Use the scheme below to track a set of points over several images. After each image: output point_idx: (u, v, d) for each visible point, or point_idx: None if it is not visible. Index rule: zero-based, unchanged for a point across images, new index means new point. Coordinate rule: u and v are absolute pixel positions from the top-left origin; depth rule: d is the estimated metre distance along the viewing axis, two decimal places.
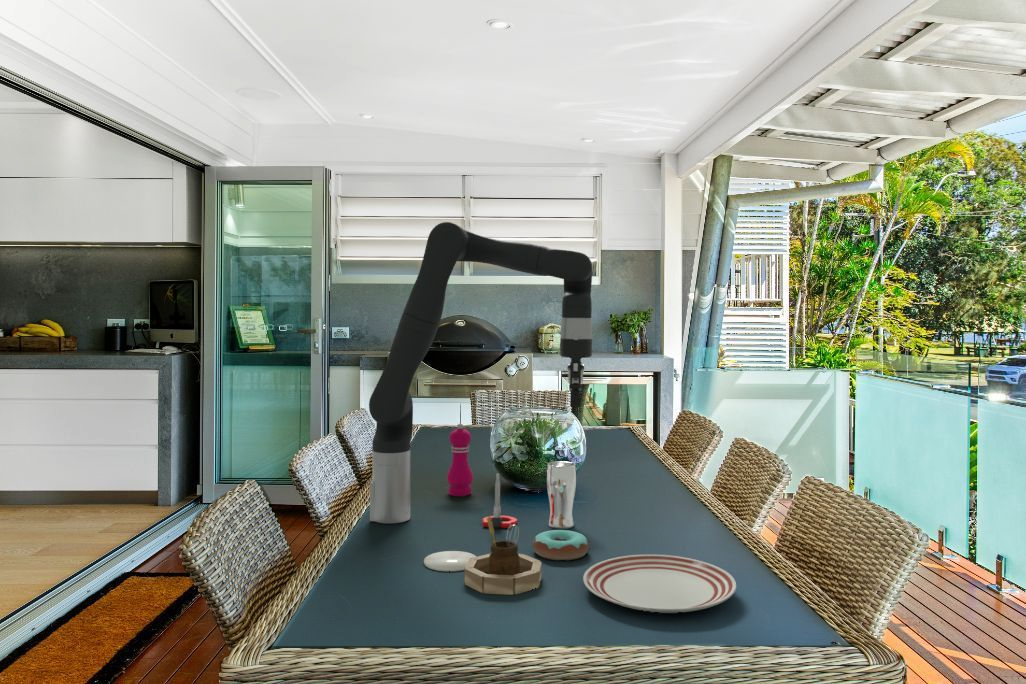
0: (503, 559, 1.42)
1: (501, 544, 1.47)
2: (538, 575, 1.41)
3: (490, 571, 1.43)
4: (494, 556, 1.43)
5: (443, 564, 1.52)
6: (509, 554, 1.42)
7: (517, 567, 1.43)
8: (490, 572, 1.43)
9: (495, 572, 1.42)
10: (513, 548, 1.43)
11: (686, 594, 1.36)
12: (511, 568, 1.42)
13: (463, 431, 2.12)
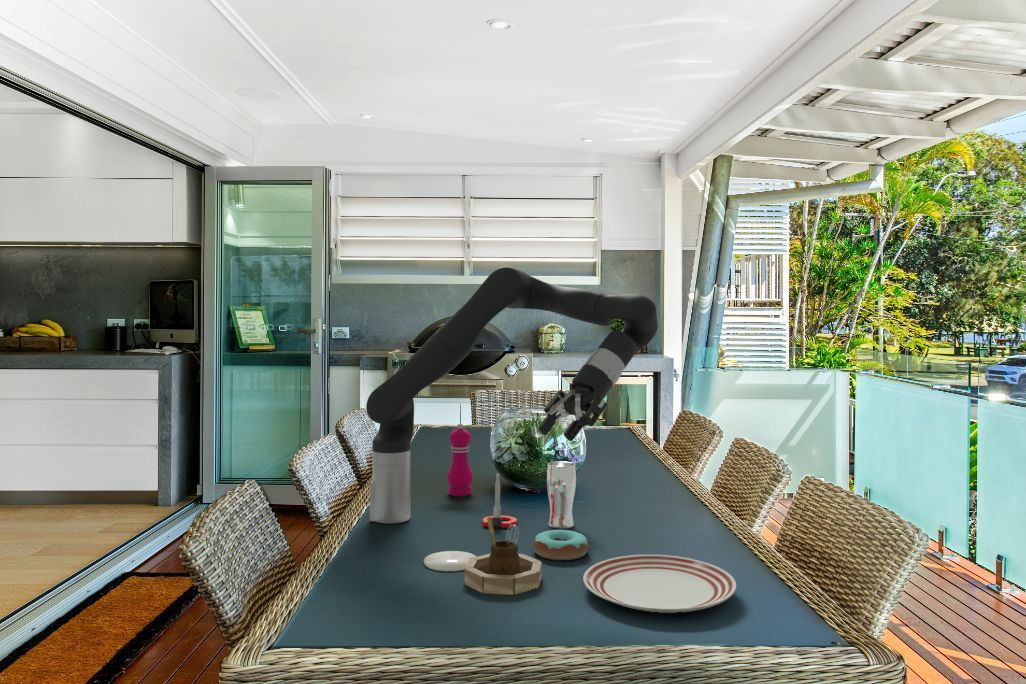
0: (503, 559, 1.42)
1: (501, 544, 1.47)
2: (538, 575, 1.41)
3: (490, 571, 1.43)
4: (494, 556, 1.43)
5: (443, 564, 1.52)
6: (509, 554, 1.42)
7: (517, 567, 1.43)
8: (490, 572, 1.43)
9: (495, 572, 1.42)
10: (513, 548, 1.43)
11: (686, 594, 1.36)
12: (511, 568, 1.42)
13: (463, 431, 2.12)
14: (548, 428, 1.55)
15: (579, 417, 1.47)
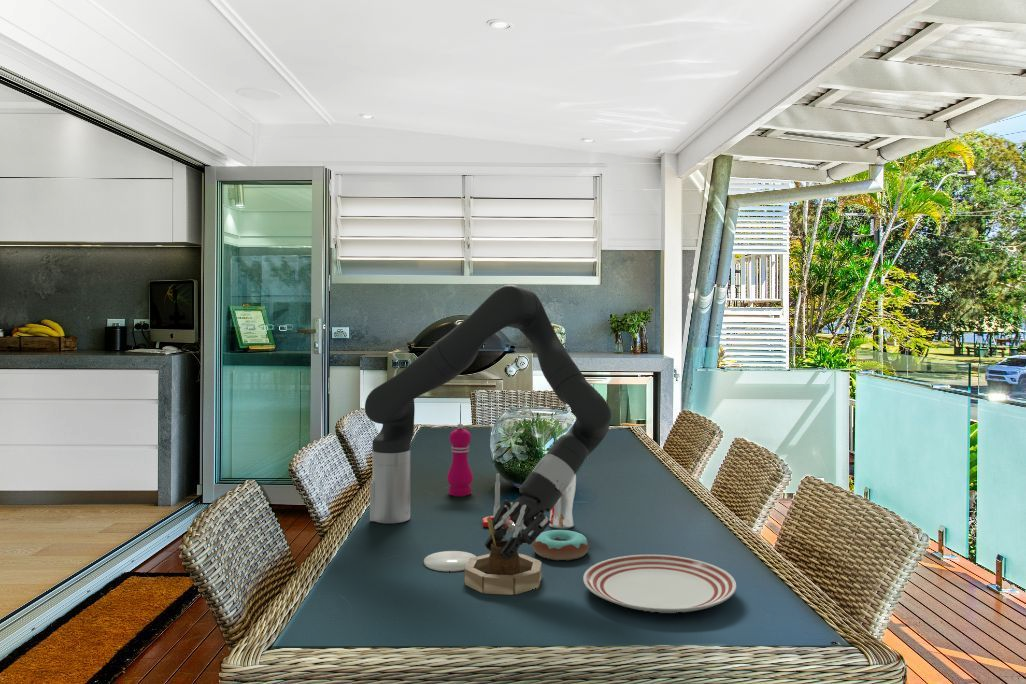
0: (503, 559, 1.42)
1: (501, 543, 1.47)
2: (538, 575, 1.41)
3: (490, 571, 1.43)
4: (494, 556, 1.43)
5: (443, 564, 1.52)
6: None
7: (517, 567, 1.43)
8: (490, 572, 1.43)
9: (495, 572, 1.42)
10: None
11: (686, 594, 1.36)
12: (511, 568, 1.42)
13: (463, 431, 2.12)
14: None
15: (516, 535, 1.42)
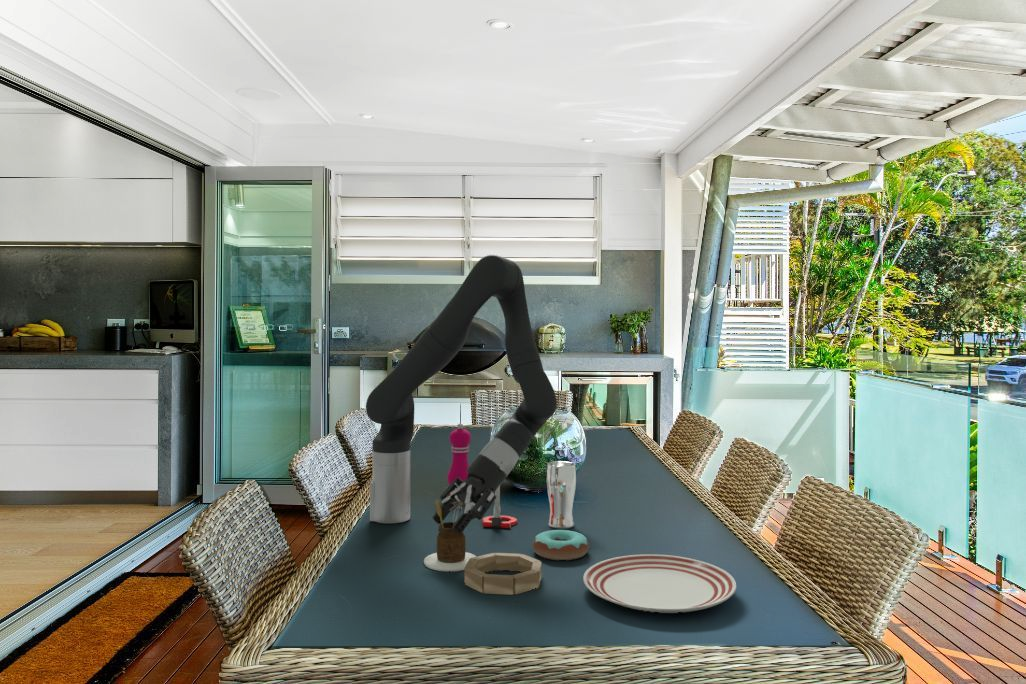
0: (449, 538, 1.53)
1: (449, 525, 1.57)
2: (538, 575, 1.41)
3: (438, 550, 1.54)
4: (441, 536, 1.53)
5: (443, 564, 1.52)
6: (455, 534, 1.53)
7: (463, 546, 1.54)
8: (438, 551, 1.54)
9: (442, 551, 1.53)
10: None
11: (686, 594, 1.36)
12: (457, 547, 1.53)
13: (463, 431, 2.12)
14: (442, 517, 1.58)
15: (467, 511, 1.51)
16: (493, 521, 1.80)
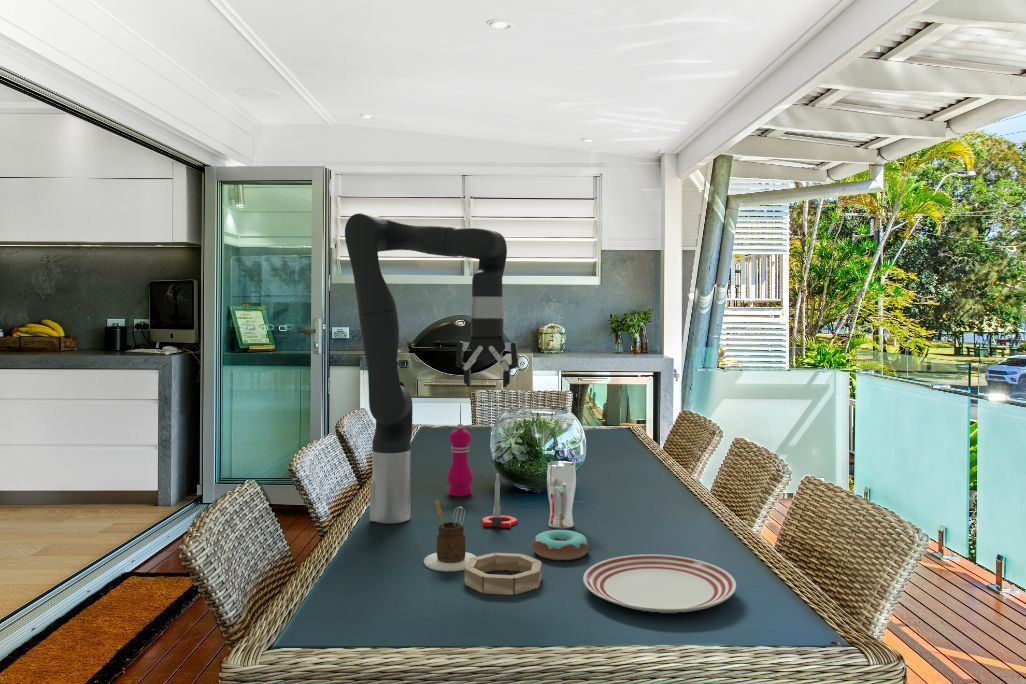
0: (449, 538, 1.53)
1: (449, 525, 1.57)
2: (538, 575, 1.41)
3: (438, 550, 1.54)
4: (441, 536, 1.53)
5: (443, 564, 1.52)
6: (455, 534, 1.53)
7: (463, 546, 1.54)
8: (438, 551, 1.54)
9: (442, 551, 1.53)
10: (459, 528, 1.54)
11: (686, 594, 1.36)
12: (457, 547, 1.53)
13: (463, 431, 2.12)
14: (470, 379, 1.76)
15: (508, 368, 1.73)
16: (493, 521, 1.80)
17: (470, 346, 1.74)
